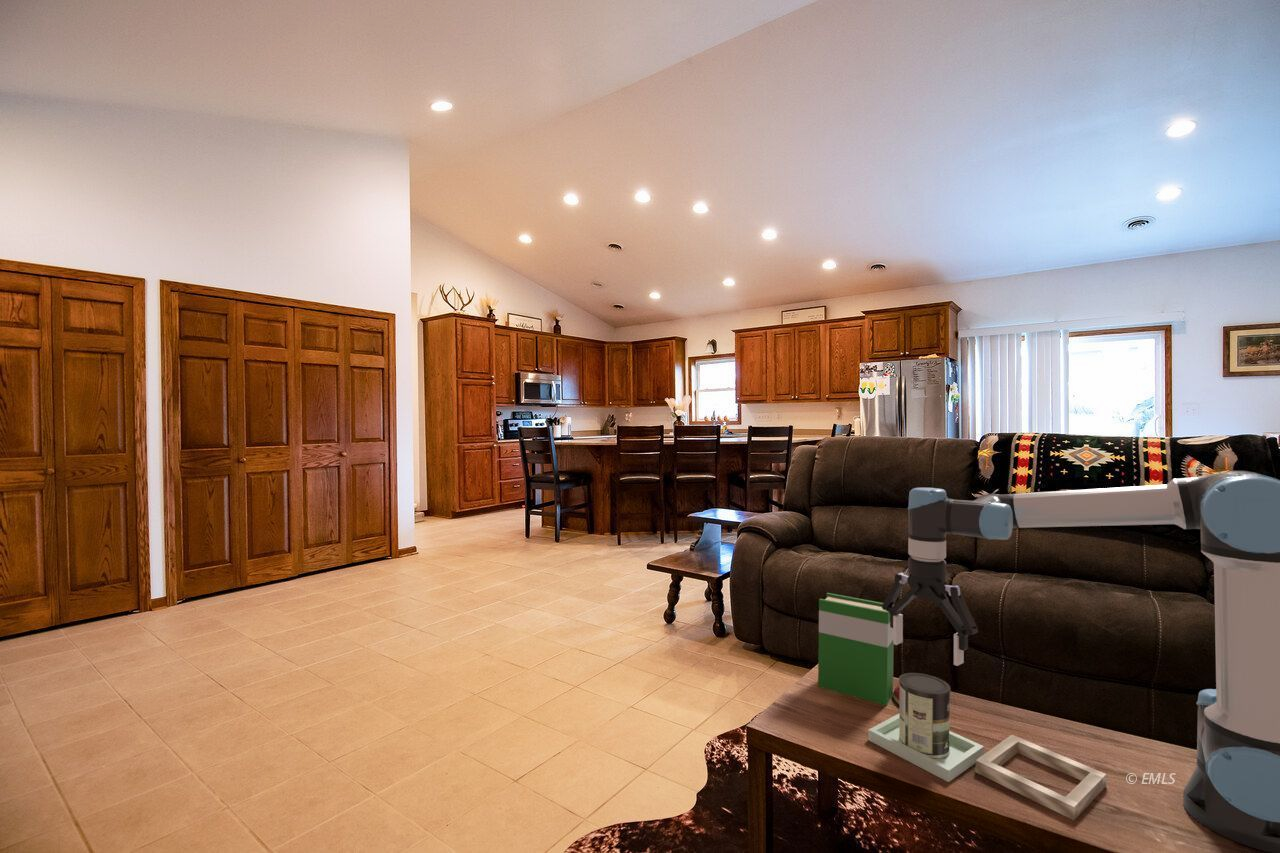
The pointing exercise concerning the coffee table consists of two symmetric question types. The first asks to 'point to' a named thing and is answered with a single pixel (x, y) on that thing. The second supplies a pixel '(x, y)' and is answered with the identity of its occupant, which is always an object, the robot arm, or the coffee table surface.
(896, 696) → the red apple half
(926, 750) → the coffee can
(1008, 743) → the wooden collar
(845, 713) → the coffee table surface
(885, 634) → the hardback book
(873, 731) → the tray
